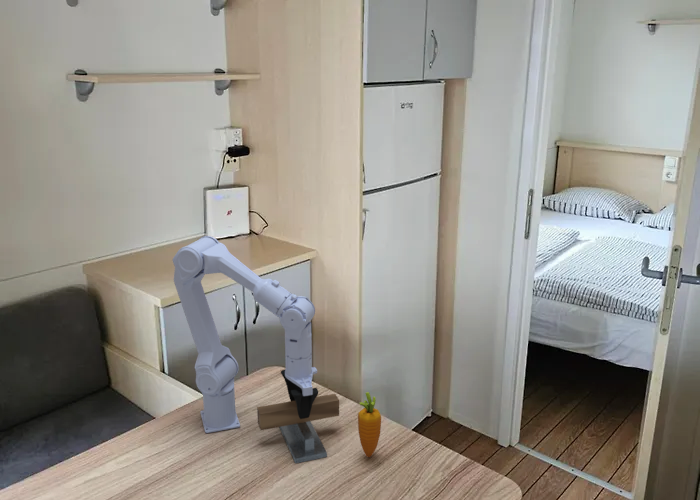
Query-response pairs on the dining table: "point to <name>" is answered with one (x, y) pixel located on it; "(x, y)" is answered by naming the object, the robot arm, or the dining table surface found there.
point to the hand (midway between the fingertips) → (299, 408)
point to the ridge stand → (303, 442)
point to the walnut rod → (296, 412)
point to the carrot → (369, 425)
